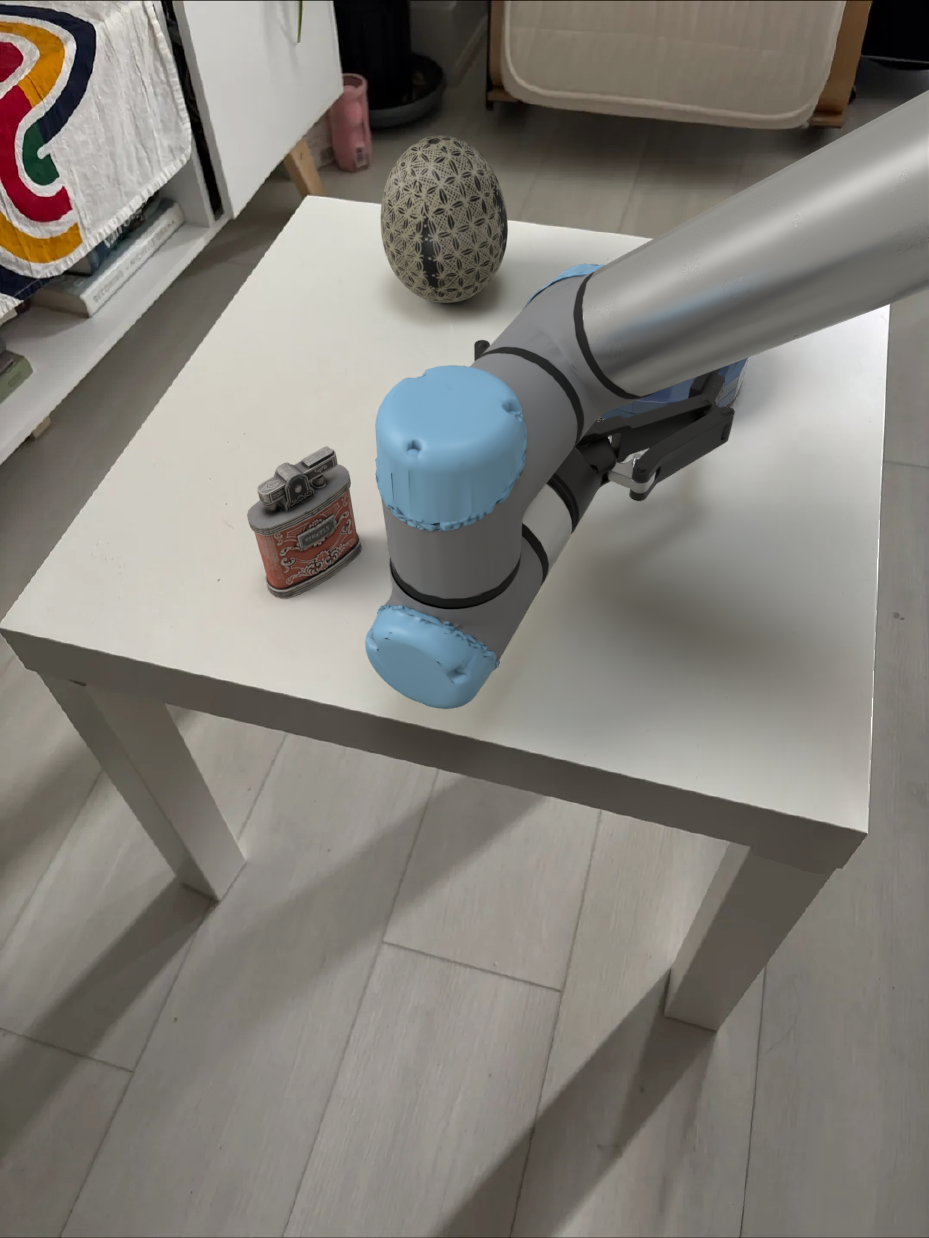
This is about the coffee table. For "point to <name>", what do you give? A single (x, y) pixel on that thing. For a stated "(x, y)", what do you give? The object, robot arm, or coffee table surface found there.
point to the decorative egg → (443, 220)
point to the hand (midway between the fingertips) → (635, 332)
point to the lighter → (305, 523)
